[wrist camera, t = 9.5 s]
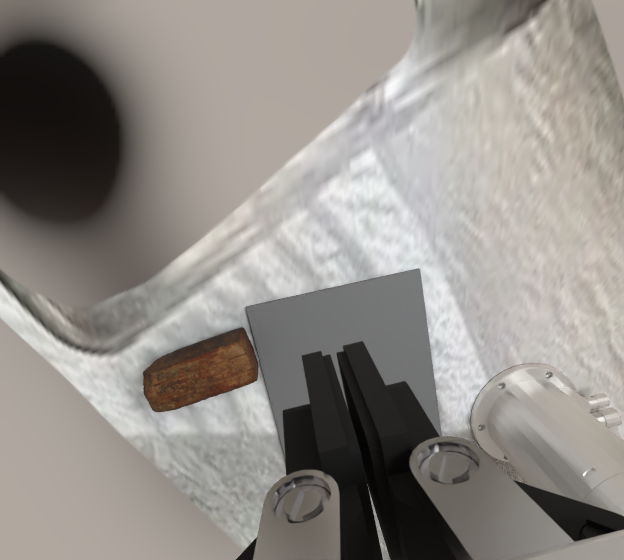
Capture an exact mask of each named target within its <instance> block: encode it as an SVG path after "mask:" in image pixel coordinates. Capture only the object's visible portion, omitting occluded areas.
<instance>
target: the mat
mask: <svg viewBox="0 0 624 560" xmlns="http://www.w3.org/2000/svg"><path fill="white" fill-rule="evenodd" d="M246 309H247V313H248V317H249V321H250V325H251V329H252V332H253V336H254V340H255V344H256V348H257V352H258V356H259V359H260V363H261V367H262V371H263V375H264V379H265V383H266V386H267V390H268V394H269V398H270V402H271V406H272V410H273V413H274V417H275V421H276V425H277V429H278V433H279V436H280V440H281V444H282V448H283V452H284V456H285V444H284V429H283V410H285V409H289V408H293V407H297V406H302V405H306V404H310V401H309V395H308V390H307V384H306V378H305V373H304V367H303V361H302V355H305V354H309V353H314V352H318V351H321V352H322V355H323V356H324V355H329V354H330V355H331V358H332V361H333V364H334V367H335V371H336V374H337V377H338V380H339V383H340V386H341V389H342V392H343V396H344V399H345V402H346V398H345V393H344V388H343V383H342V378H341V374H340V369H339V364H338V359H337V354H336V353H337V352H342V351H343V345H348V344H352V343H356V342H361V341H363V342H364V344H365V346H366V348H367V350H368V352H369V354H370V356H371V358H372V360H373V362H374V364H375V365H376V367H377V369H378V371H379V373H380V375H381V377H382V379H383V381H384V383H385V385H390V384H394V383H398V382H402V381H406V382H407V384H408V385H409V387H410V388H411V390H412V392H413V393H414V395H415V397H416V398H417V400H418V401H419V403H420V405H421V406H422V408H423V410H424V411H425V413H426V415H427V416H428V418H429V419H430V421H431V423H432V424H433V426H434V428H435V429H436V431H437V432H438V434H439V436H440V437H442V435H441V427H440V419H439V412H438V404H437V396H436V388H435V381H434V373H433V365H432V358H431V350H430V342H429V335H428V327H427V319H426V312H425V304H424V296H423V289H422V281H421V273H420V269H414V270H410V271H405V272H401V273H396V274H392V275H387V276H382V277H378V278H373V279H369V280H364V281H360V282H355V283H351V284H346V285H342V286H337V287H333V288H328V289H324V290H319V291H315V292H310V293H306V294H301V295H296V296H292V297H287V298H283V299H278V300H274V301H269V302H265V303H260V304H256V305H251V306H247V307H246ZM346 405H347V402H346ZM347 408H348V407H347Z"/></svg>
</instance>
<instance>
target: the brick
mask: <svg viewBox="0 0 624 560" xmlns="http://www.w3.org/2000/svg"><path fill="white" fill-rule="evenodd" d="M143 375H144V380H143V382H144V383H143V385H144V395H145V397H146V399H147V400H148V402H149V404H150V406H151V408H152V410H153V411H155V412H164V411H170V410H176V409H179V408H181V407H184V406H188V405H191V404H194V403H197V402H199V401H201V400H205V399H207V398H209V397H213V396H217V395H219V394H222V393H226V392H229V391H232V390H234V389H237V388H240V387H243V386H245V385H248V384H251V383H253V382H255V381H257V378H258V361H257V359H256V355H255V353H254V349H253V346H252V345H251V342H250V340H249V338H248V336H247V333H246V331H245V329H244V328H239V329H236V330H233V331H230V332H227V333H224V334H221V335H219V336H215V337H213V338H210V339H207V340H205V341H201V342H199V343H196V344H194V345H191V346H188V347H185V348H182V349H179V350H177V351H174V352H173V353H171V354H168V355H165V356H163V357H161V358H160V359H158V360H157V361H155V362H154V363H153V364H152V365H151V366H150V367H148V368H147V369H146V370H145V371H144V372H143Z"/></svg>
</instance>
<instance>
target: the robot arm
mask: <svg viewBox="0 0 624 560" xmlns="http://www.w3.org/2000/svg"><path fill="white" fill-rule="evenodd" d="M336 354H337V359H338V364H339V369H340V374H341V378H342V383H343V388H344V393H345V398H346V402H347V405H346V402H345V399H344V396H343V392H342V389H341V386H340V383H339V380H338V377H337V374H336V371H335V367H334V364H333V361H332V358H331V355H330V354H329V355H324V356H323V355H322V352H321V351H318V352H314V353H309V354H305V355H302V361H303V367H304V373H305V378H306V384H307V390H308V395H309V401H310V404H306V405H302V406H297V407H293V408H289V409H285V410H283V429H284V444H285V460H286V475H287V476H285V477H283V478H281V479H280V480H279V481H278V482H276V483H275V484H274V485H273V486H272V488H271V489H270V490H269V492H268V493H267V495H266V498H265V501H264V504H263V509H262V515H261V520H260V525H259V531H258V536H257V538H256V539H255V540H254V541H253V542H252V543H251V544H250V545H249V546H248V547H247V548H246V550H245V551H244V552H243V553H242V554H241V555H240V556H239V557H238V558H237V559H236V560H383V558H382V553H381V548H380V544H379V539H378V534H377V529H376V524H375V519H374V514H373V510H372V505H371V500H370V495H369V491H370V494H371V497H372V501H373V504H374V507H375V511H376V514H377V517H378V520H379V524H380V527H381V530H382V533H383V537H384V540H385V543H386V546H387V550H388V553H389V556H390V559H391V560H624V440H622V439H621V438H620V437H619V436H618V435H616V434H615V433H614V432H613V431H611V430H610V429H609V428H610V427H614V426H618V425H621V424H622V419H621V416H620V414H619V412H618V411H617V410H616V409H614V408H610V409H605V410H601V411H597V412H595V413H592V414H591V412H590V410H591V409H594V408H601V407H605V406H609V404H610V401H609V399H608V397H607V396H606V395H605V394H599V395H594V396H591V397H589V398H585V397H582V396H580V395H579V394H578V393H577V391H576V388H575V386H574V385H573V383H572V382H571V381H570V379H569V378H568V377H566V376H565V375H564V374H563V373H561V372H560V371H558V370H557V369H555V368H553V367H550V366H547V365H544V364H536V363H532V364H523V365H518V366H514V367H512V368H510V369H507V370H505V371H503V372H502V373H500V374H498V375H497V376H495V377H494V378H493V379H492V380H491V381H490V382H488V383H487V384H486V386H485V387H484V388H483V389H482V390H481V392H480V394H479V395H478V397H477V399H476V401H475V403H474V406H473V409H472V415H471V427H472V431H473V434H474V436H475V438H476V440H477V442H478V443H479V445H480V446H481V447H482V448H483V450H484V451H485V452H487V453H488V454H489V455H490V456H492V457H494V458H496V459H498V460H501V461H504V462H510V463H511V464H512V465H513V466H514V468H515V469H516V470H517V472H518V473H519V474H520V475H521V477H522V478H523V479H524V480H525V482H526V483H527V484H528V485H527V484H524V483H521V482H517V481H514V480H512V479H511V478H510V477H509V476H508V475H507V474H506V473H505V472H504V471H503V470H502V469H501V468H500V467H499V466H498V465H497V464H496V463H495V462H494V461H493V460H492V459H491V458H490V457H489V456H488V455H487V454H486V453H485V452H484V451H483V450H482V449H481V448H480V447H478V446H477V445H475V444H474V443H473V442H470V441H468V440H465V439H463V438H457V437H452V436H447V437H440V436H439V434H438V432H437V431H436V429H435V428H434V426H433V424H432V423H431V421H430V419H429V418H428V416H427V415H426V413H425V411H424V410H423V408H422V406H421V405H420V403H419V401H418V400H417V398H416V397H415V395H414V393H413V392H412V390H411V388H410V387H409V385H408V384H407V382H406V381H402V382H398V383H394V384H390V385H385V383H384V381H383V379H382V377H381V375H380V373H379V371H378V369H377V367H376V365H375V364H374V362H373V360H372V358H371V356H370V354H369V352H368V350H367V348H366V346H365V344H364V342H363V341H361V342H356V343H352V344H348V345H343V351H342V352H337V353H336ZM347 407H348V408H347ZM367 484H368V485H367ZM368 488H369V490H368Z"/></svg>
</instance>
